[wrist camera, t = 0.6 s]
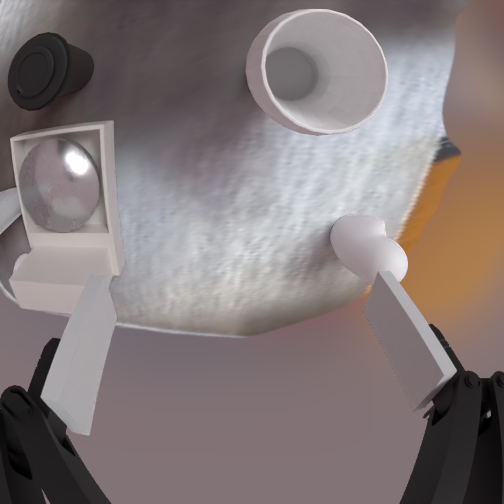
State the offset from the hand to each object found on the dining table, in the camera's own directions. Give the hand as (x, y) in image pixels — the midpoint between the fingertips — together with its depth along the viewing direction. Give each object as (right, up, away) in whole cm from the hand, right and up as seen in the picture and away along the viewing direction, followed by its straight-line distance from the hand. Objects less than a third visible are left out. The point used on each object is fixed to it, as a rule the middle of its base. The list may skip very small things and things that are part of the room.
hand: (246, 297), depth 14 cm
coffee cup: (-21, +24, +12) cm, 34 cm away
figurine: (+15, +5, +28) cm, 32 cm away
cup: (+4, +22, +16) cm, 28 cm away
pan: (-24, +11, +18) cm, 32 cm away
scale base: (-24, +9, +20) cm, 33 cm away
